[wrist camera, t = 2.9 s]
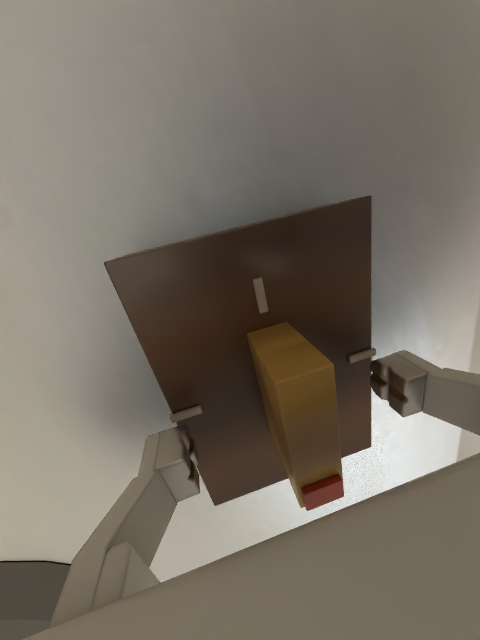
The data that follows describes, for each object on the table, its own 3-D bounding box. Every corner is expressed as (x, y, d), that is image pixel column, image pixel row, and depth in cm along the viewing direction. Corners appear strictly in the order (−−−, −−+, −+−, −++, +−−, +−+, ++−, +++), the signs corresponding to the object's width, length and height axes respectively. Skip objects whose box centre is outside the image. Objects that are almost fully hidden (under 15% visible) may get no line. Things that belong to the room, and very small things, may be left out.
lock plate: (123, 255, 10) (97, 263, 7) (329, 204, 11) (377, 193, 8) (208, 459, 16) (213, 510, 13) (343, 411, 17) (375, 448, 14)
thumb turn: (246, 333, 9) (278, 389, 6) (286, 320, 10) (339, 368, 6) (270, 434, 12) (304, 516, 8) (302, 422, 12) (348, 498, 9)
